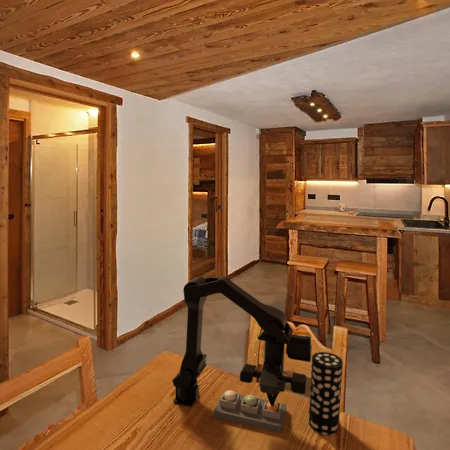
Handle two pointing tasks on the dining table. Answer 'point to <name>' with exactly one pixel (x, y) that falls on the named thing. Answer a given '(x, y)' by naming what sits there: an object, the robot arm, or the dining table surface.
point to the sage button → (250, 400)
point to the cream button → (230, 396)
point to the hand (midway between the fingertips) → (272, 404)
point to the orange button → (272, 407)
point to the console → (251, 413)
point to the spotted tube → (325, 392)
